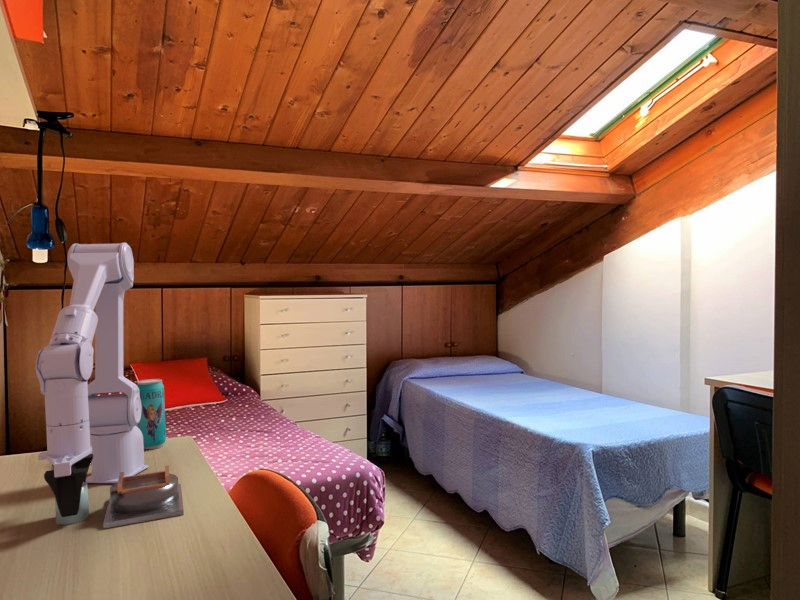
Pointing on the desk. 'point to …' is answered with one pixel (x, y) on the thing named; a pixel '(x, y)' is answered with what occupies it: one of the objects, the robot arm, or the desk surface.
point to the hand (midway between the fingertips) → (72, 509)
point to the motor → (143, 498)
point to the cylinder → (82, 512)
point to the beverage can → (152, 413)
